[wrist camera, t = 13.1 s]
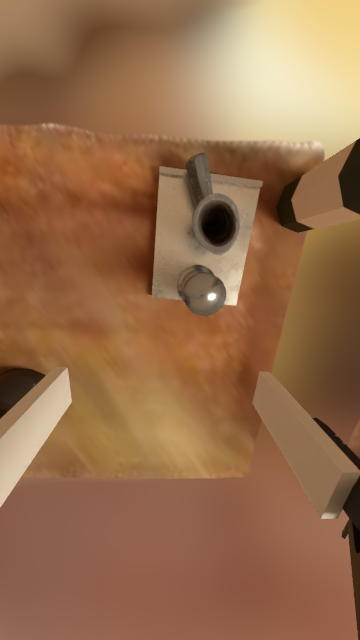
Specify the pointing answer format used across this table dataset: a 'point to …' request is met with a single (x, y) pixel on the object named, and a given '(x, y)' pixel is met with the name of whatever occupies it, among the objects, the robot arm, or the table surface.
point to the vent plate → (186, 252)
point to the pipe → (211, 209)
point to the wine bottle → (324, 193)
